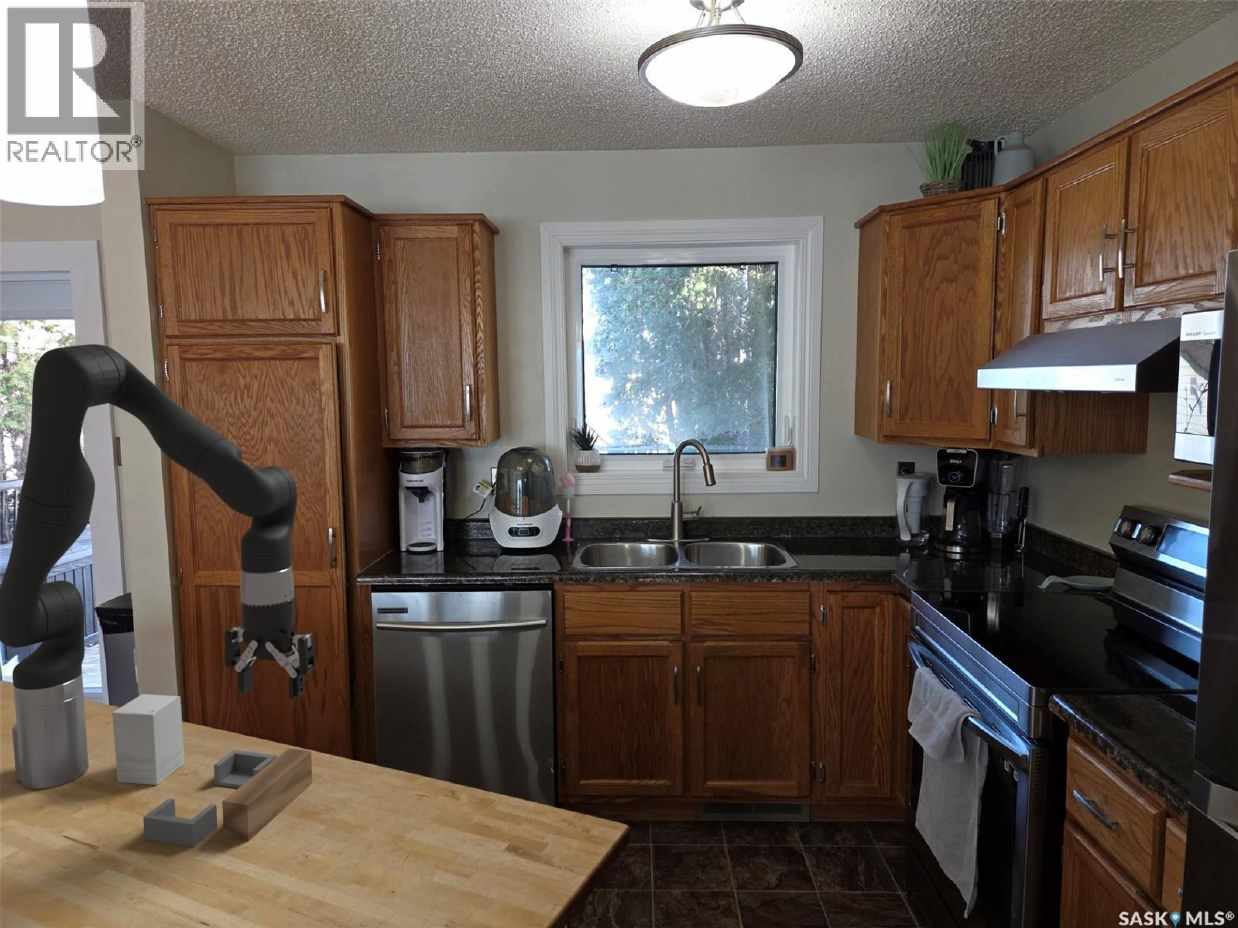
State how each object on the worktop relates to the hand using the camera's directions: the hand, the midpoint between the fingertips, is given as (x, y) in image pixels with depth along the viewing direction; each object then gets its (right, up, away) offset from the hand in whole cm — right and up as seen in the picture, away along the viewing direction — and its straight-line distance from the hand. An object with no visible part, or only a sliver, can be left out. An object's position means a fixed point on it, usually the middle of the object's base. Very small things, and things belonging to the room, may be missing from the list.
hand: (271, 694), depth 119 cm
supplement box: (-26, -17, +11) cm, 32 cm away
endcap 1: (-11, -19, -5) cm, 23 cm away
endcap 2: (-9, -17, +9) cm, 22 cm away
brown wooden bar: (-1, -19, +2) cm, 19 cm away
